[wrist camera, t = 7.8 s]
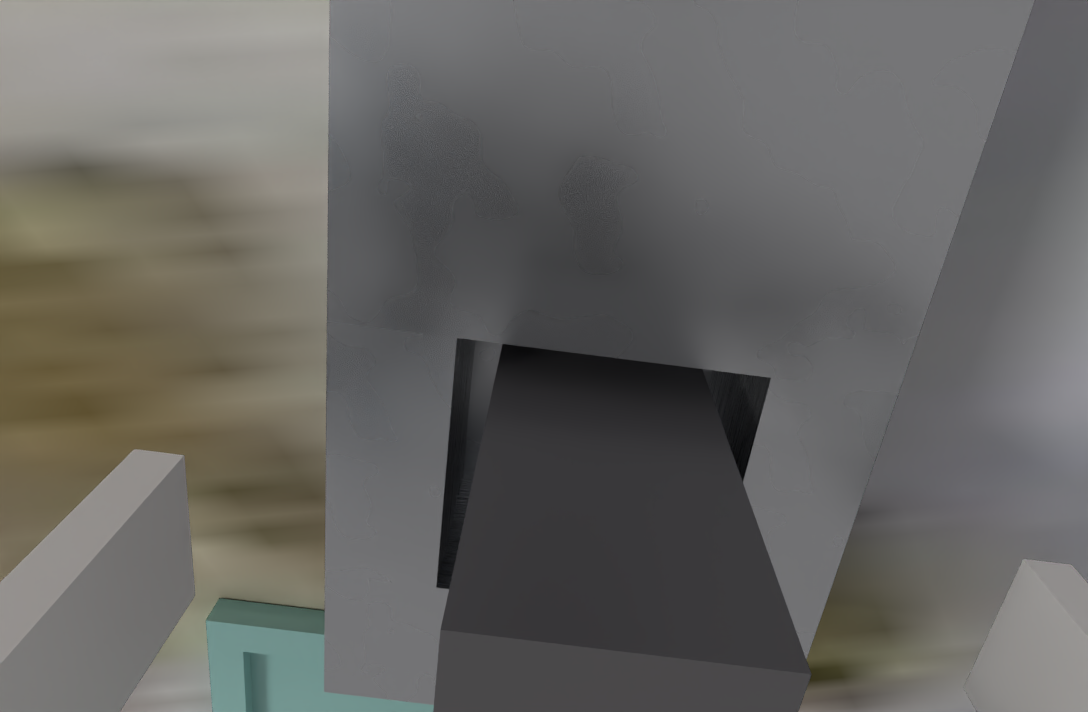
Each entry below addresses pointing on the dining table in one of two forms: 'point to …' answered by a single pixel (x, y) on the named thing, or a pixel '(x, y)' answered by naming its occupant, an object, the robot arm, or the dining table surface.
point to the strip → (629, 254)
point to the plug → (611, 553)
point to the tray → (276, 662)
